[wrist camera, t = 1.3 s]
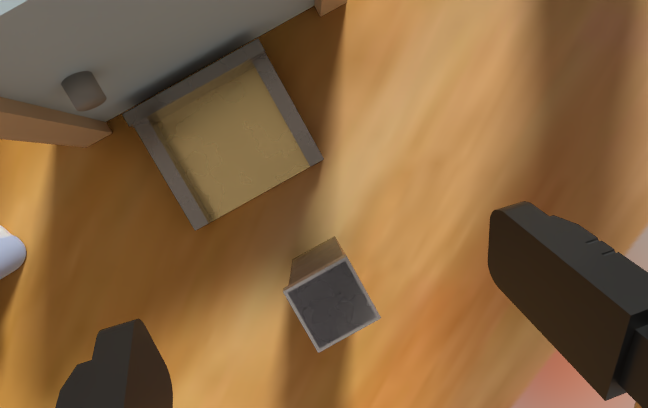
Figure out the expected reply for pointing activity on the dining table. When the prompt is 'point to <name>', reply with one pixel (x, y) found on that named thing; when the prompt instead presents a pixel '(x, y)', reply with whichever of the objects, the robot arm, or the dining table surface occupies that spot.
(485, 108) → the dining table surface
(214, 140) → the keeper
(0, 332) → the dining table surface
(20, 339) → the dining table surface
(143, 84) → the door
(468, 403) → the dining table surface
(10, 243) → the hippopotamus toy
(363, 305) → the bar
